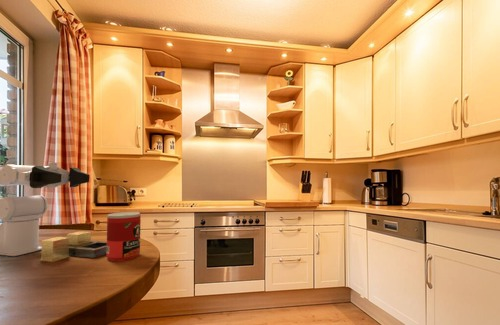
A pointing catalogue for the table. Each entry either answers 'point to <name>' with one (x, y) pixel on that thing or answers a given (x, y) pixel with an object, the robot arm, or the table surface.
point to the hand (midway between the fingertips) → (74, 178)
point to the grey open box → (85, 245)
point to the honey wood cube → (55, 249)
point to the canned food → (123, 236)
